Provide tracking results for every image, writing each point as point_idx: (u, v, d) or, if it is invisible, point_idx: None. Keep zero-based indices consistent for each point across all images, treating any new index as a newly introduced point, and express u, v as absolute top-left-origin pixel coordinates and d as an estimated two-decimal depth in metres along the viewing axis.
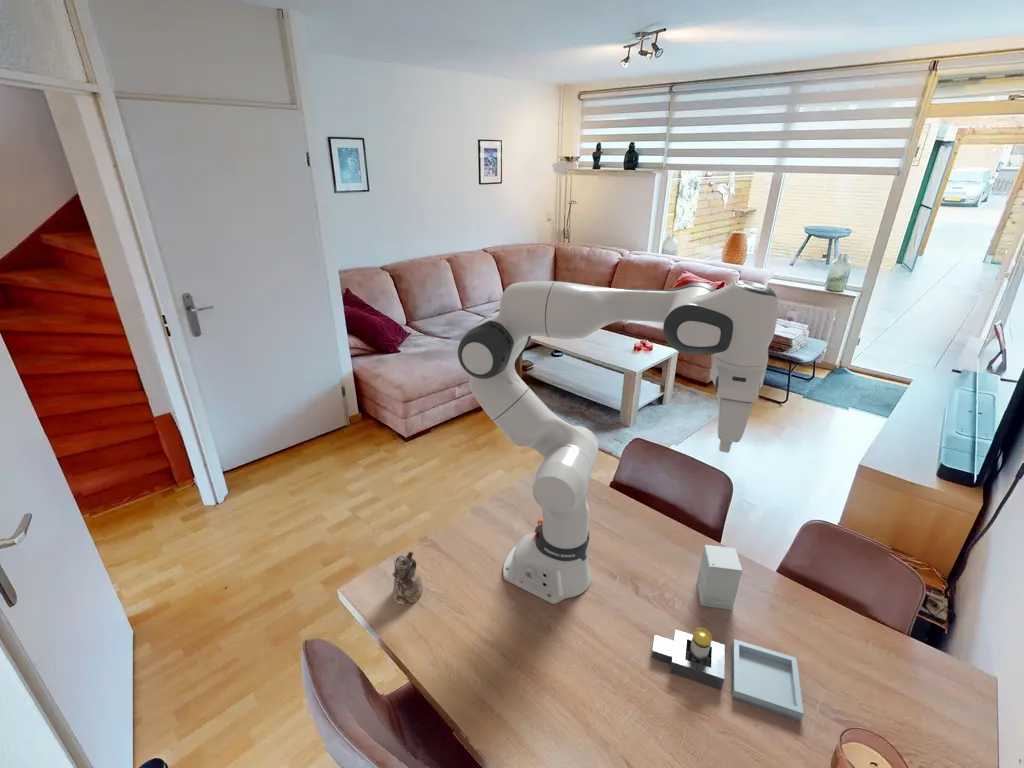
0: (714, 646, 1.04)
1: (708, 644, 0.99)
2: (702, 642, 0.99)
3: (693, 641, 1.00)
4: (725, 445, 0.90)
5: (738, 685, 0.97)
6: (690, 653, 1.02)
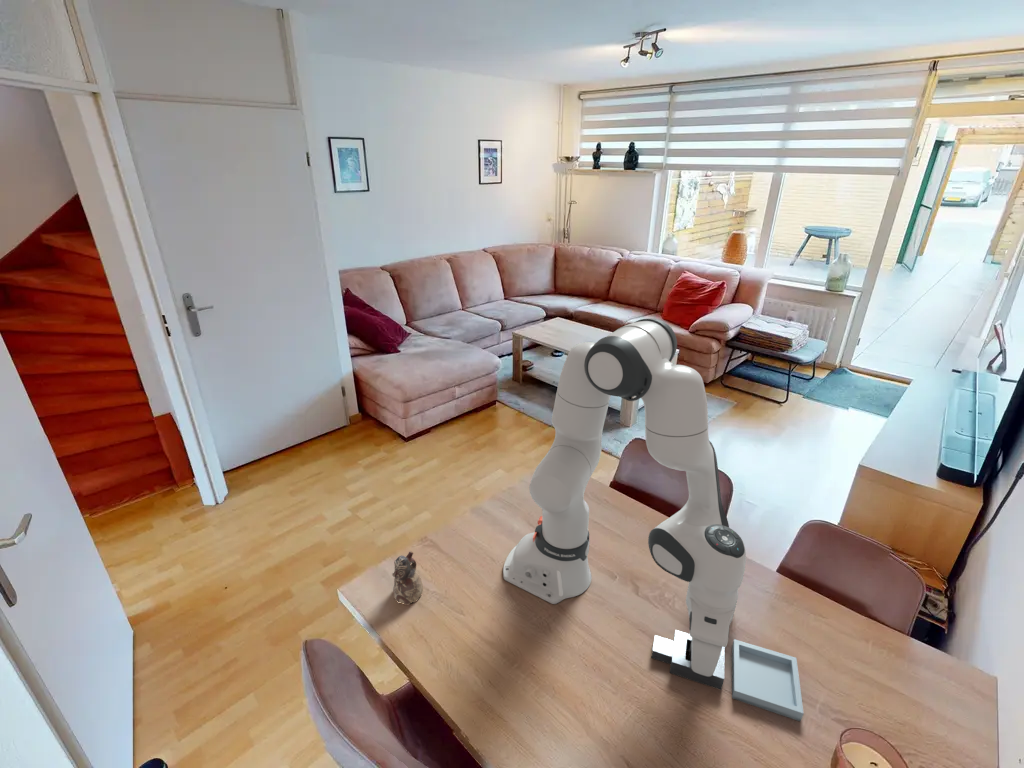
0: None
1: None
2: None
3: None
4: None
5: (738, 685, 0.97)
6: (690, 653, 1.02)
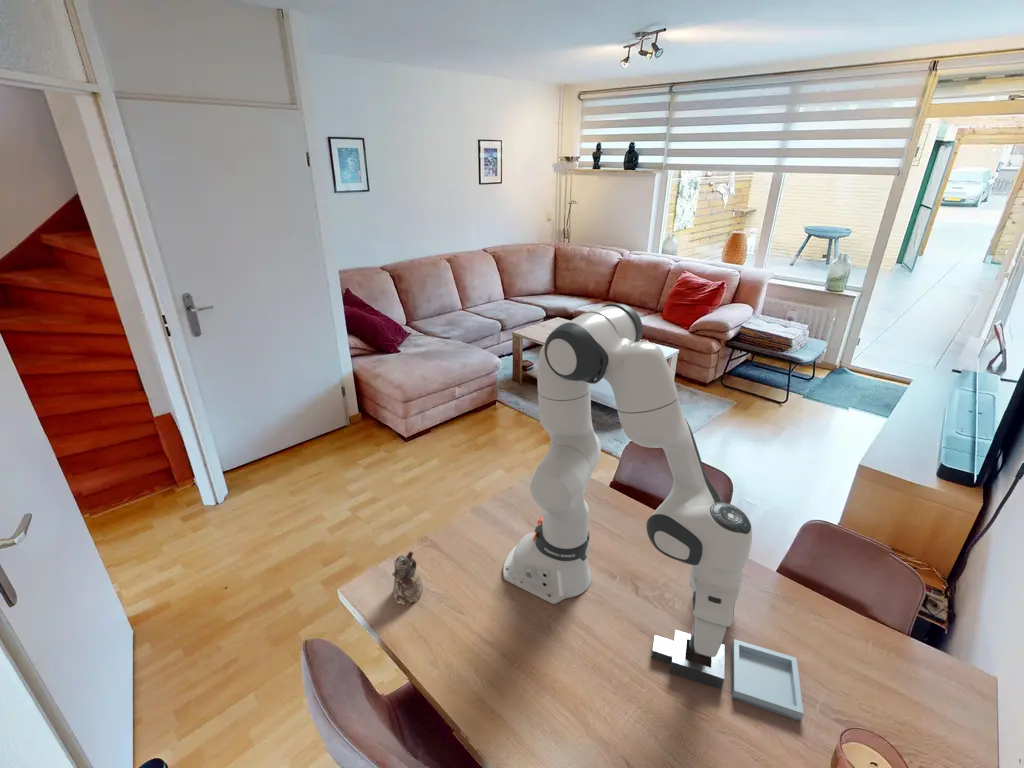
0: None
1: None
2: None
3: None
4: None
5: (738, 685, 0.97)
6: (692, 635, 1.00)
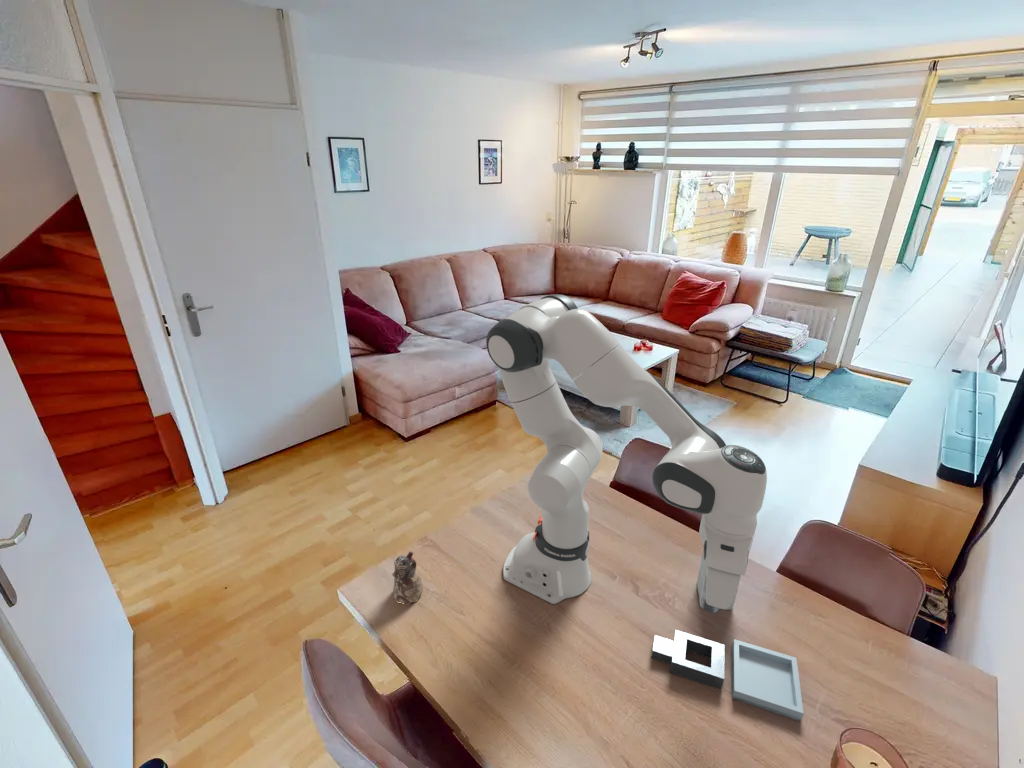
0: (714, 646, 1.04)
1: None
2: None
3: None
4: None
5: (738, 685, 0.97)
6: (703, 592, 0.95)
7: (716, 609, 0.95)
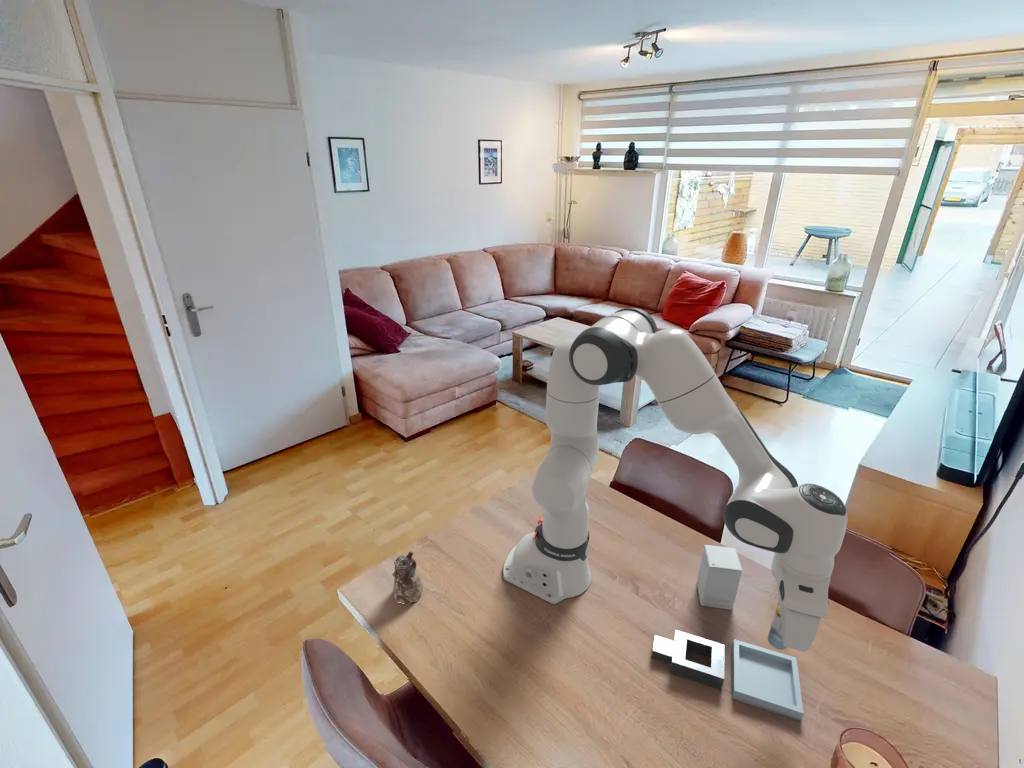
0: (714, 646, 1.04)
1: None
2: None
3: (778, 615, 0.92)
4: None
5: (738, 685, 0.97)
6: (773, 629, 0.94)
7: (786, 646, 0.93)
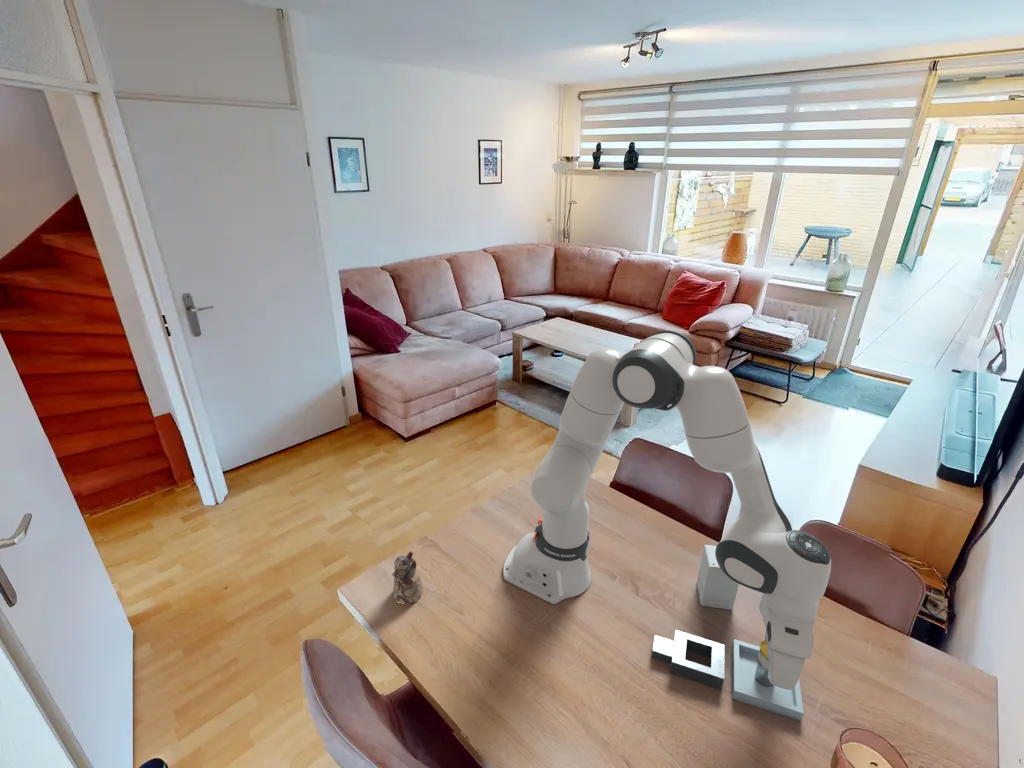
0: (714, 646, 1.04)
1: None
2: None
3: (761, 654, 0.97)
4: None
5: (738, 685, 0.97)
6: (758, 667, 0.99)
7: None
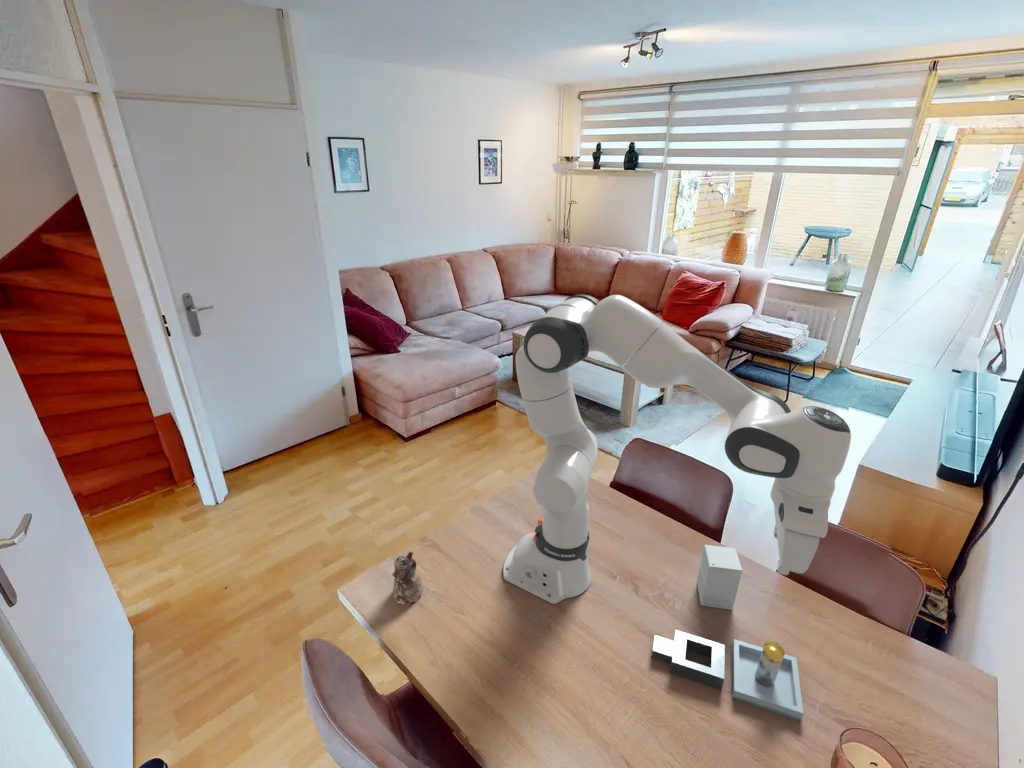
0: (714, 646, 1.04)
1: (781, 659, 0.95)
2: (774, 657, 0.95)
3: (764, 655, 0.96)
4: None
5: (738, 685, 0.97)
6: (759, 668, 0.99)
7: (772, 684, 0.98)
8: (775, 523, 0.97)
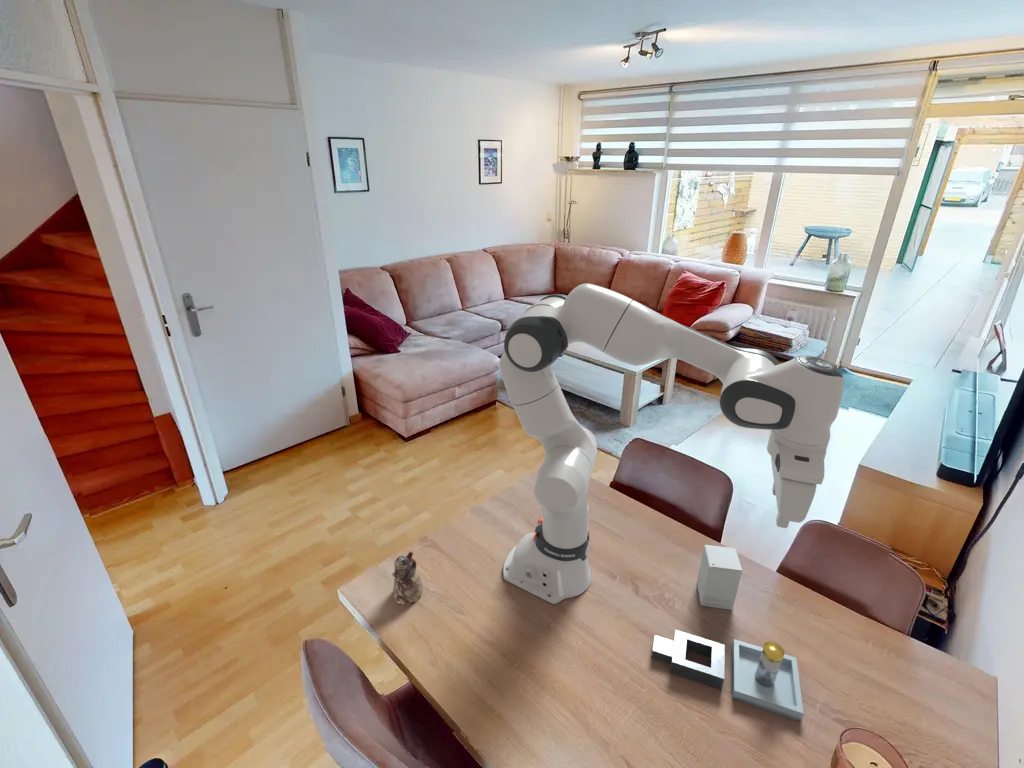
0: (714, 646, 1.04)
1: (781, 659, 0.95)
2: (774, 657, 0.95)
3: (764, 655, 0.97)
4: (783, 521, 0.87)
5: (738, 685, 0.97)
6: (759, 667, 0.99)
7: (772, 684, 0.98)
8: None
